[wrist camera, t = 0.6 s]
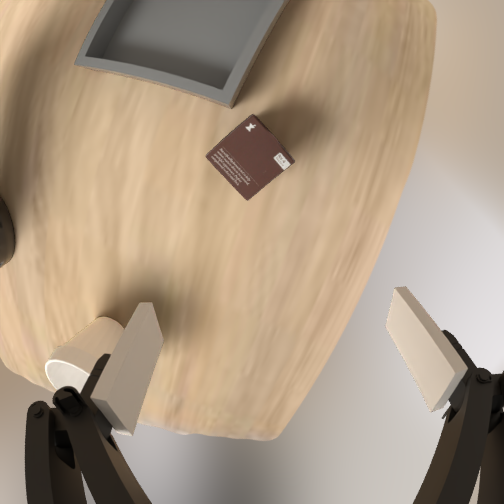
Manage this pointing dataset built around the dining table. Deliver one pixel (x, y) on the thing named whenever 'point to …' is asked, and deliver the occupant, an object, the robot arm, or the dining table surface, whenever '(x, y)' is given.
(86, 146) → the dining table surface
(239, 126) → the box
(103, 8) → the bin
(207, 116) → the dining table surface
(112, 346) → the cup
